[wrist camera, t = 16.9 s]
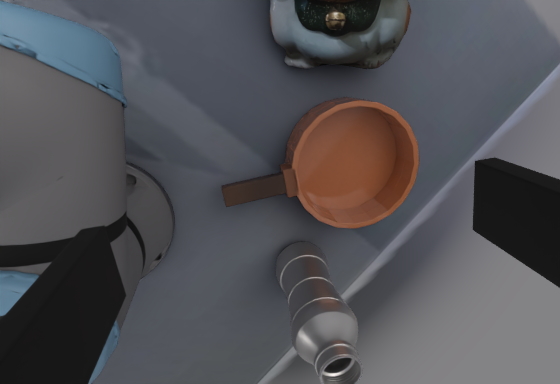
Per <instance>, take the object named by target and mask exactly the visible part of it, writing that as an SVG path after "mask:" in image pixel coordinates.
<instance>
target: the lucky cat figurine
mask: <svg viewBox="0 0 560 384" xmlns="http://www.w3.org/2000/svg"><path fill="white" fill-rule="evenodd" d="M410 14H411V9H410V5H409V2H408V0H271V7H270V25H271V29H272V33H273V36H274V39H275V42H276V43H278V44H279V45H280V46H282V47H283V48H285V50H286V57H285V60H284V61H285V63H287V65H292V66H296V67H299V68H303V69H304V68H313V67H316V66H320V65H329V64H335V65H344V66H353V67H359V68H364V69H367V68H369V69H373V68H378V67H380V66H381V65H382V64H384V63H385V62H386V61H388V60H389V59H390V57H391V56H392V54H393V53H394V52H395V50H396V49H397V47H398V46H399V44H400V42H401V40H402V38H403V36H404V35H405V33H406V31H407V28H408V24H409V19H410Z"/></svg>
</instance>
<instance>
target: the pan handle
mask: <svg viewBox="0 0 560 384" xmlns="http://www.w3.org/2000/svg"><path fill="white" fill-rule="evenodd" d="M279 166H280V171H281V172H279V173H275V174H270V175H266V176H262V177H257V178H253V179H248V180H244V181H240V182H235V183H231V184H227V185H222V193H223V196H224V200H225V204H226V207H229V206H233V205H237V204H242V203H246V202H250V201H255V200H259V199H263V198H267V197H272V196H276V195H280V194H285V193H286V195H287V197H288V198H289V197H294V196H297V194H298V195H299V193H298V191H299V190H298V189H297V188H298V186H297V184H296V186H297V188H296V187H295V183H294V181H296V182H297V180H296V178H295V177H296V173H295V171H294V170H295V169H294V170H293V169H292V168H291V166H290V165H289V163H286V164H281V165H279ZM292 171H293V172H292ZM293 173H295V175H294V174H293ZM293 175H294V178H295V179H294V180H293ZM295 189H297V190H298V191H296V190H295ZM296 192H297V193H296Z"/></svg>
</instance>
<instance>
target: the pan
mask: <svg viewBox="0 0 560 384" xmlns="http://www.w3.org/2000/svg"><path fill="white" fill-rule="evenodd" d="M286 163H289V165H290V166H291V168H292V169H293V170H294V169H295V170H294V171H295V173H296V177H295V178H296V180H297V182H296V181H294V183H295V187H296V188H297V186H298V188H297V189H298V190H299V191H298V190H297V189H295V190H296V191H298V193H299V195H298V194H297V196H298V198H299V200H300V201H301V203H302V205H303V207H304V208H305V209H306V210H307V211H308V212H309V213H310V214H312V215H313V216H314V217H315V218H316V219H317V220H319V221H321V222H324V223H326V224H329V225H331V226H334V227H338V228H359V227H363V226H367V225H371V224H374V223H376V222H378V221H380V220H381V219H383V218H385V217H387V216H389V215H390V214H392V213H393V212H394V211H395V210H396V209H397V208H398V207H399V206H400V205H401V204H402V203H403V202H404V201H405V199H406V197H407V195H408V194H409V192H410V190H411V188H412V186H413V185H414V182H415V179H416V174H417V170H418V166H419V155H418V144H417V141H416V139H415V136H414V134H413V132H412V129H411V127H410V125H409V124H408V123H407V122H406V121H405V120H404V119H403V118H402V117H401V116H400V114H399V113H398V112H396V111H395V110H393V109H391V108H389V107H387V106H385V105H383V104H381V103H378V102H374V101H370V100H366V99H360V98H351V97H342V98H336V99H332V100H328V101H325V102H324V103H321V104H319V105H318V106H316V107H314V108H313V109H311V110H310V111H309V112H308V113H306V114H305V115H304V116H303V117H302V118H301V120H300V121H299V122H298V124H297V125H296V126H295V128H294V130H293V131H292V133H291V136H290V138H289V141H288V144H287V148H286V155H285V164H286ZM292 172H293V171H292ZM295 173H293V174H294V175H295ZM294 175H293V180H294V179H295V178H294ZM296 184H297V186H296ZM296 193H297V192H296Z"/></svg>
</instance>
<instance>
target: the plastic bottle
mask: <svg viewBox="0 0 560 384" xmlns="http://www.w3.org/2000/svg"><path fill="white" fill-rule="evenodd" d="M276 278H277V280H278V282H279V284H280V286H281V288H282V289H283V290H284V293H285V295H286V297H287V300H288V304H289V310H290V322H291V338H292V344H293V346H294V348H295V350H296V351H297V353H298V354H299V355H300V356H301V358H303V359H304V360H305V361H307V362H309V363H311V364H313V365H314V367H315V370H316V373H317V374H318V376H319V379H320V381H321V383H322V384H356V383H357V382H358V381H359V380H360V378H361V375H362V372H363V369H362V364H361V361H360V360H359V357H358V353H357V351H356V349H355V345H356V342H357V339H358V323H357V319H356V317H355V315H354V314H353V312H352V310H351V309H350V308H349V306H348V305H347V304H346V303H345V301H344V300H343V299H342V298H341V296H340V295H339V293H338V292H337V290H336V288H335V287H334V285H333V283H332V280H331V277H330V274H329V267H328V263H327V259H326V256H325V255H324V253H323V252H322V251H321V250H320V249H319V248H318V247H317V246H315V245H314V244H312V243H309V242H297V243H293V244H291V245H289V246H288V247H286V248H285V249H284V250H283V251H282V252H281V253H280V254H279V256H278V258H277V262H276Z"/></svg>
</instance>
